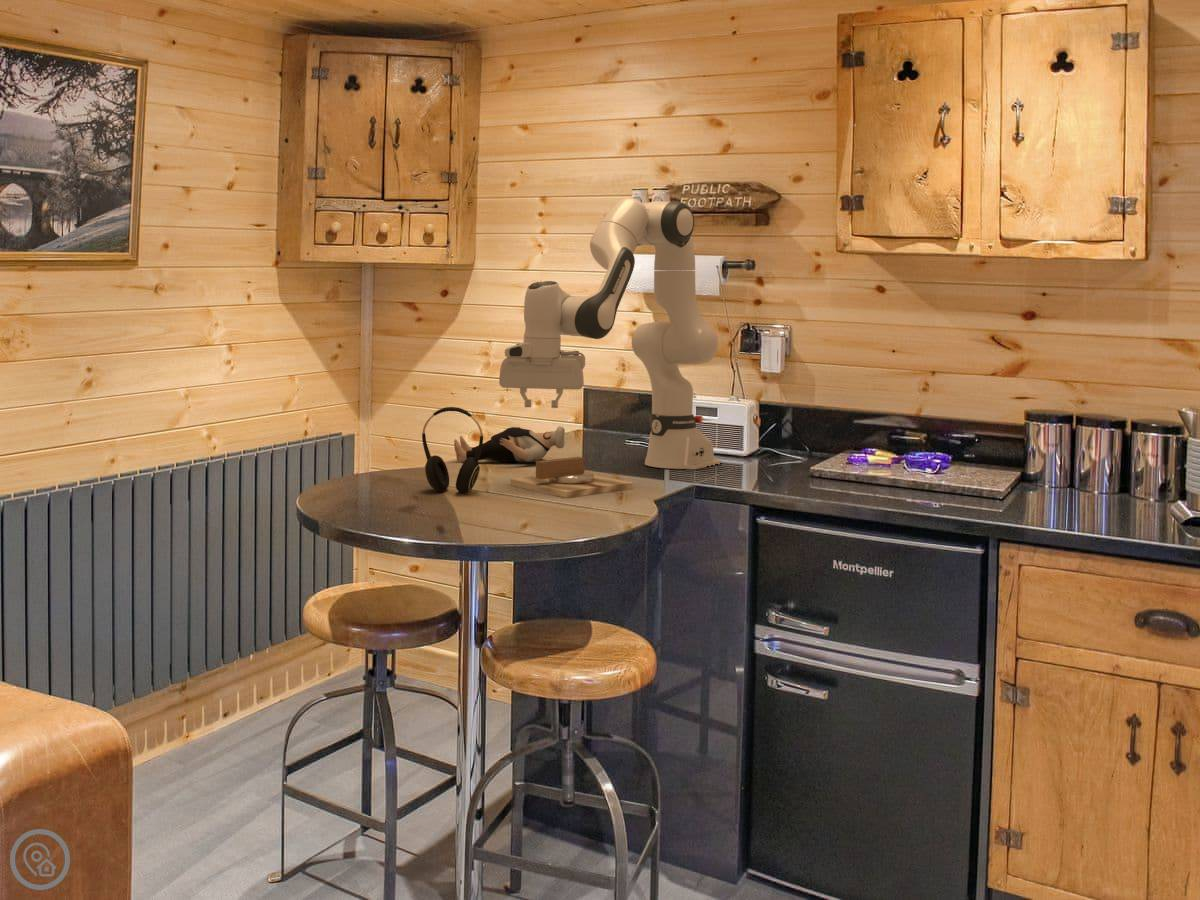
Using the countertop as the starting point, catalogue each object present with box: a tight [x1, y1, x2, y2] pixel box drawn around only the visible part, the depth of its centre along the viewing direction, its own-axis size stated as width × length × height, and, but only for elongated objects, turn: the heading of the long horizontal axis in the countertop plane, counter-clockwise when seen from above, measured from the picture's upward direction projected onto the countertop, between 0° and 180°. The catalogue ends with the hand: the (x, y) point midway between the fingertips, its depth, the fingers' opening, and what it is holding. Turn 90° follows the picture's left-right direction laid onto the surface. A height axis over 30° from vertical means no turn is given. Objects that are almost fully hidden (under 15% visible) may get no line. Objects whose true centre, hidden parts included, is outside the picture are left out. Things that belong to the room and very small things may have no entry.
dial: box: [535, 456, 595, 483], centre depth 270 cm, size 16×11×5 cm
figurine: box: [453, 426, 566, 464], centre depth 309 cm, size 23×10×30 cm
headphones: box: [421, 406, 484, 494], centre depth 261 cm, size 9×15×20 cm, turn 80°
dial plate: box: [509, 474, 633, 499], centre depth 272 cm, size 21×21×2 cm
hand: (541, 407), depth 270 cm, fingers open, 5 cm apart
